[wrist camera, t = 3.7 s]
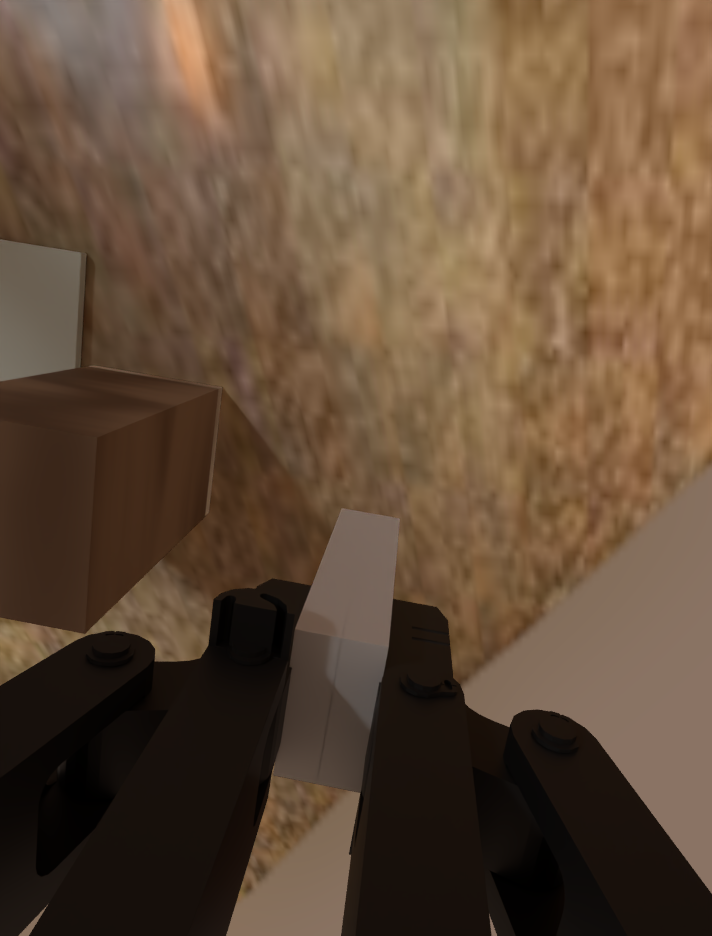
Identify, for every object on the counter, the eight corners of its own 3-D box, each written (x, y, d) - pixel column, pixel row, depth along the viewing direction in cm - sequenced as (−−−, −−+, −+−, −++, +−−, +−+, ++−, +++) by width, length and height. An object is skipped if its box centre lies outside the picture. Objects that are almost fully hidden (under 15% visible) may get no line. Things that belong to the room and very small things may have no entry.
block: (86, 490, 26) (-108, 596, 17) (94, 365, 25) (-111, 400, 15) (208, 512, 26) (84, 633, 16) (222, 387, 25) (97, 437, 15)
